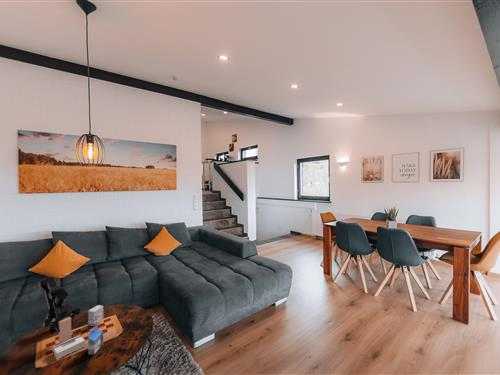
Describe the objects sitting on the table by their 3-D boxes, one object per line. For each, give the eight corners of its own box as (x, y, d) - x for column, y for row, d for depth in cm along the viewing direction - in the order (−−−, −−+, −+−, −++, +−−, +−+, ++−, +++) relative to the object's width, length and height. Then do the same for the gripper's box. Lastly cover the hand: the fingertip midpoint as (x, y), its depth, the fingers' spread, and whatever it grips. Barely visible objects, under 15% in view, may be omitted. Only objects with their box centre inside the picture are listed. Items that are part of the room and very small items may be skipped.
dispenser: (52, 353, 141) (52, 346, 141) (80, 340, 152) (80, 334, 152) (57, 360, 136) (56, 352, 136) (85, 346, 147) (85, 339, 147)
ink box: (93, 328, 165) (93, 311, 165) (88, 327, 166) (87, 310, 166) (103, 320, 174) (103, 305, 173) (98, 320, 175) (97, 304, 174)
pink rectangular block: (58, 341, 147) (58, 321, 146) (70, 336, 152) (70, 317, 151) (59, 343, 146) (59, 322, 145) (71, 338, 150) (71, 318, 150)
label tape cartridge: (94, 354, 140) (94, 334, 140) (87, 354, 140) (87, 334, 140) (103, 344, 149) (103, 325, 149) (97, 344, 149) (97, 325, 149)
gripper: (43, 307, 143) (49, 332, 136) (79, 295, 158) (86, 317, 151) (40, 315, 148) (45, 339, 141) (75, 303, 163) (81, 324, 156)
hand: (65, 329), depth 148 cm, fingers closed on pink rectangular block, 6 cm apart
